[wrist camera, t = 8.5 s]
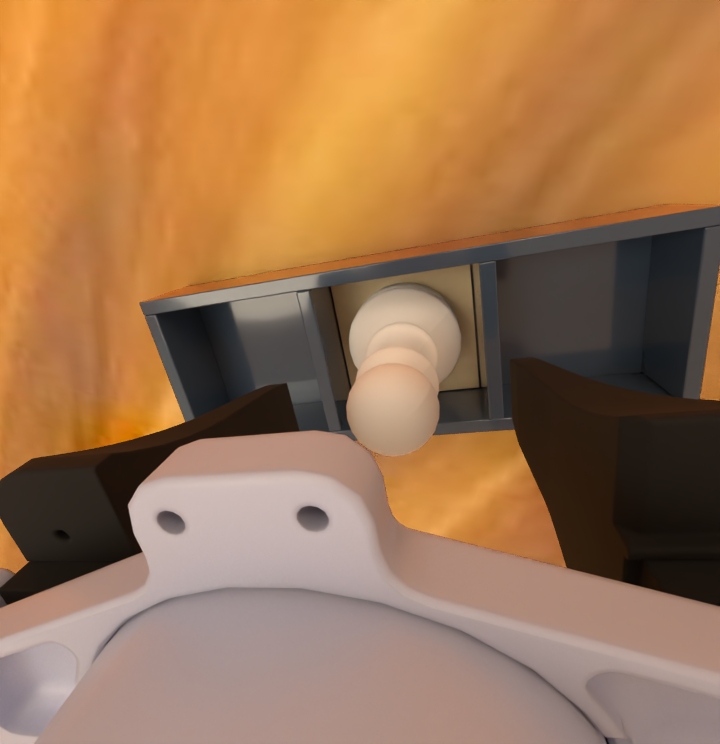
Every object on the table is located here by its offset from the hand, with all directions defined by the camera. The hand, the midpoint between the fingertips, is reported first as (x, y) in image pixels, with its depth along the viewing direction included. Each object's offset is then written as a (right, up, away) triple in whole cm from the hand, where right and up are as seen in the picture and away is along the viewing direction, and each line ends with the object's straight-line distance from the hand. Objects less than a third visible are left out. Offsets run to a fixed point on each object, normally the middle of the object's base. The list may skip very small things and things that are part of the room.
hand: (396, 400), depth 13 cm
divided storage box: (+1, +3, +7) cm, 8 cm away
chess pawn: (+1, +3, +6) cm, 7 cm away
